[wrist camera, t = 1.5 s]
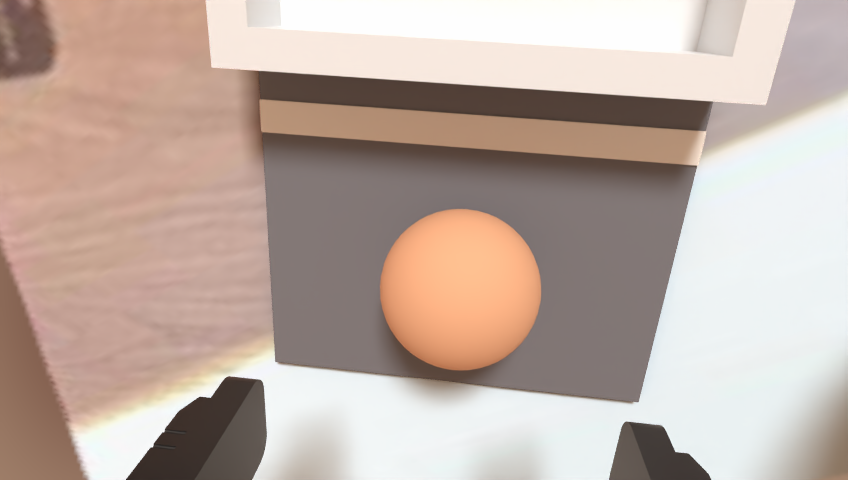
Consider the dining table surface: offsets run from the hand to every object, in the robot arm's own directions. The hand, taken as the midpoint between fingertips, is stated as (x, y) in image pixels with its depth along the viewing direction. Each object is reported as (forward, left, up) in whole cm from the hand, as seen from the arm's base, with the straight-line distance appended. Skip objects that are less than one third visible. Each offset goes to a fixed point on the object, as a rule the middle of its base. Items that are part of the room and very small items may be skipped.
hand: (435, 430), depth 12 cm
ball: (0, 0, -8) cm, 8 cm away
